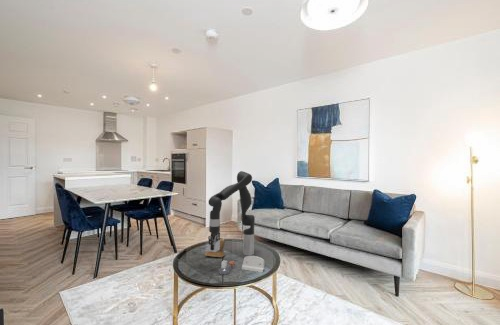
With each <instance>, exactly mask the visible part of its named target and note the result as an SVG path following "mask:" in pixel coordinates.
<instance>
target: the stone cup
mask: <svg viewBox="0 0 500 325" xmlns="http://www.w3.org/2000/svg"><path fill="white" fill-rule="evenodd" d="M225 242H226V240H225V238H223V237H220V250H218V251H217V252H212V251H206V252H205V253H204V256H205V257H206V256H207V257H214V258H223V257H225V255H226V253H224V252H223V249H224V247H225Z"/></svg>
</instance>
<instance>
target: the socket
mask: <svg viewBox="0 0 500 325" xmlns="http://www.w3.org/2000/svg"><path fill="white" fill-rule="evenodd" d="M207 248H208V251H212V252H217V251H218V250H220V240H219V239H218V240H216V239H215V242H214V250H210V248H211V245H210V244H209V243H208V246H207ZM208 251H207V252H208Z"/></svg>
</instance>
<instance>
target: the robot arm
mask: <svg viewBox="0 0 500 325" xmlns="http://www.w3.org/2000/svg"><path fill="white" fill-rule="evenodd" d="M252 180H253V176H252V174H250V173H248V172H245V171H242V170H241V171H239V172H238V173H237V175H236V181H237V182H236V183H233V184H230V185H228V186H226V187H225V188H223V189H222V190H221V191H220V192H218V193H216V194H214V195H212V196H211V197H210V198H209V199H208V205H209V206H210V207H212V210H211V211H209V227H208V229H209V230H208V232H210V235H208V237H207V238H208V245H209V244H210V245H211V248H210V250H214V242H215V239H216V240H218V239H219V240H220V238H221V232H220V231H221V220H220V219H221V218H220V217H221V215H220V214H221V209H222V206H223V205H222V204H223V202H222V201H225V200H227V199H228V198H230V196H232V195H233V194H235V193H236V192H239V202H240V208H241V210H240V211H241V224H242V226H244V227H245V226H246V227H247V226H249V227H247V228H246V229H244V230H243V233H242V234H243V239H242V240H243V241H242V245H243V246H242V254H243V255H244V256H254V254H255V222H256V221H255V220H256V219H255V216H254V214H246V213H247V212H248V210H249V208H250V207H251V205H252V196H251V193H250V191H249V189H248V188H247V186H248V185H250V184H251V182H252Z"/></svg>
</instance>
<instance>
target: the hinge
mask: <svg viewBox="0 0 500 325" xmlns="http://www.w3.org/2000/svg"><path fill="white" fill-rule="evenodd" d="M265 266H266V265H265V259H264V258H262V257H260V256H256V255H246V256H244V258H243V261H242V265H241V270H245V271H251V272H257V271H258V273H264V271H265V270H266V269H265Z"/></svg>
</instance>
